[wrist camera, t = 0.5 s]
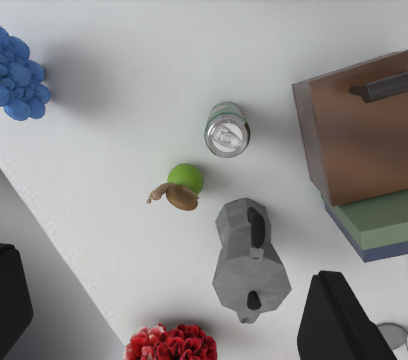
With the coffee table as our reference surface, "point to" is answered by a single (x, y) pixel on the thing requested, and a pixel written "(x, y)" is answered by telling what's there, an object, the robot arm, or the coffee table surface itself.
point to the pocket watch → (394, 335)
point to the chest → (314, 129)
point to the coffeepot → (248, 262)
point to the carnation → (170, 344)
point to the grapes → (20, 80)
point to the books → (374, 224)
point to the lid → (363, 128)
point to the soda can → (227, 130)
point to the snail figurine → (181, 187)
